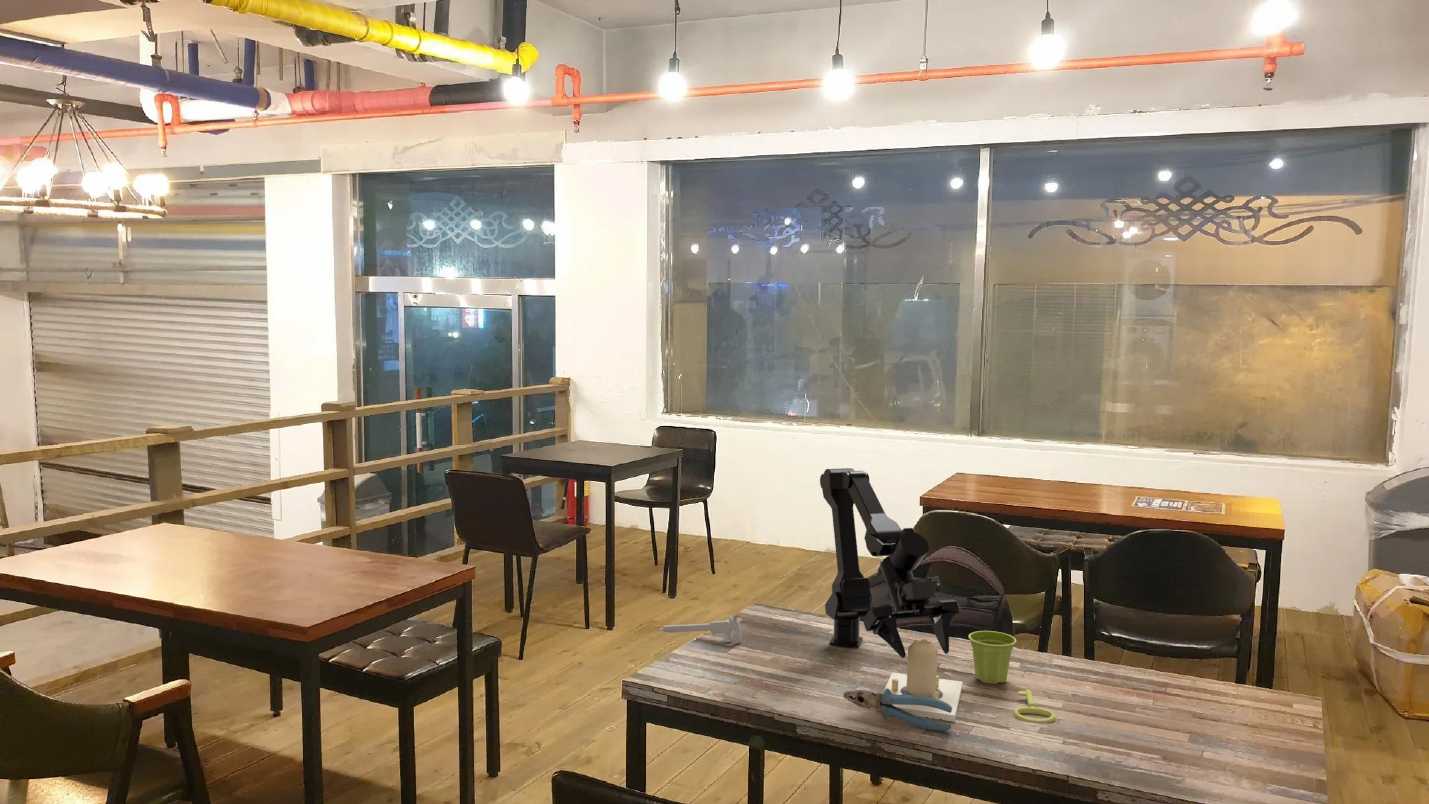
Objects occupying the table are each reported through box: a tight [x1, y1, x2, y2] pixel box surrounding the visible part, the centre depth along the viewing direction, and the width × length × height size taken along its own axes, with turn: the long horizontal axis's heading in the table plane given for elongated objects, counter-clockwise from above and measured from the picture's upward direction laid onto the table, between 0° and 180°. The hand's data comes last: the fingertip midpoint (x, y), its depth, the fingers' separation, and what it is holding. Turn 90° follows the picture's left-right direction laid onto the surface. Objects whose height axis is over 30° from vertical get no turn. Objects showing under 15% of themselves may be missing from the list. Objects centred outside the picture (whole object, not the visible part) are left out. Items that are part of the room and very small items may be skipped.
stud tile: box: [883, 672, 964, 723], centre depth 195 cm, size 18×14×3 cm
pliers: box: [842, 688, 952, 732], centre depth 184 cm, size 20×2×6 cm, turn 62°
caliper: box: [657, 615, 742, 644], centre depth 230 cm, size 20×1×6 cm, turn 66°
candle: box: [906, 638, 938, 697], centre depth 195 cm, size 6×6×10 cm
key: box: [1013, 689, 1056, 724], centre depth 191 cm, size 7×12×2 cm, turn 8°
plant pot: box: [968, 630, 1017, 685], centre depth 207 cm, size 9×9×9 cm
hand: (925, 655), depth 194 cm, fingers open, 9 cm apart
